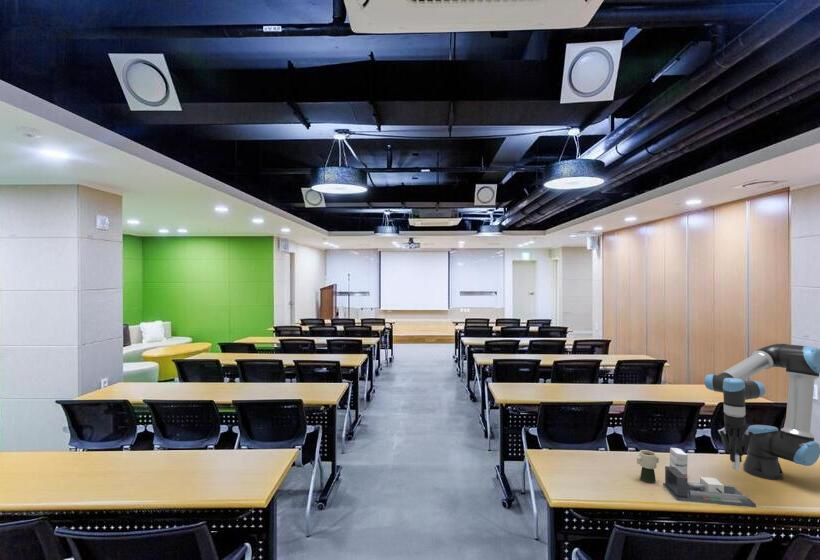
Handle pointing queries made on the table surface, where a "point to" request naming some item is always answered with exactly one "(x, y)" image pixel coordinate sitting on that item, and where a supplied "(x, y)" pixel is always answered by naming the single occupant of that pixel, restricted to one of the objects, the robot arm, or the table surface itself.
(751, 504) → the gauge bed
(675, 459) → the ink box
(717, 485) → the gauge carriage
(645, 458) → the character mug
